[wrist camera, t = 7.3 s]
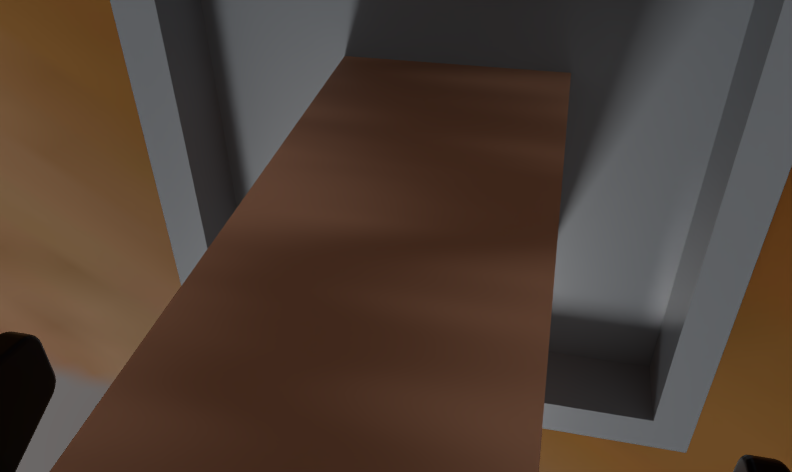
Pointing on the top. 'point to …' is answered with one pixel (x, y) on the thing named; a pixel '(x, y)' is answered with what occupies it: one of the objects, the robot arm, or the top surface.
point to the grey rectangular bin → (582, 172)
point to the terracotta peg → (364, 292)
